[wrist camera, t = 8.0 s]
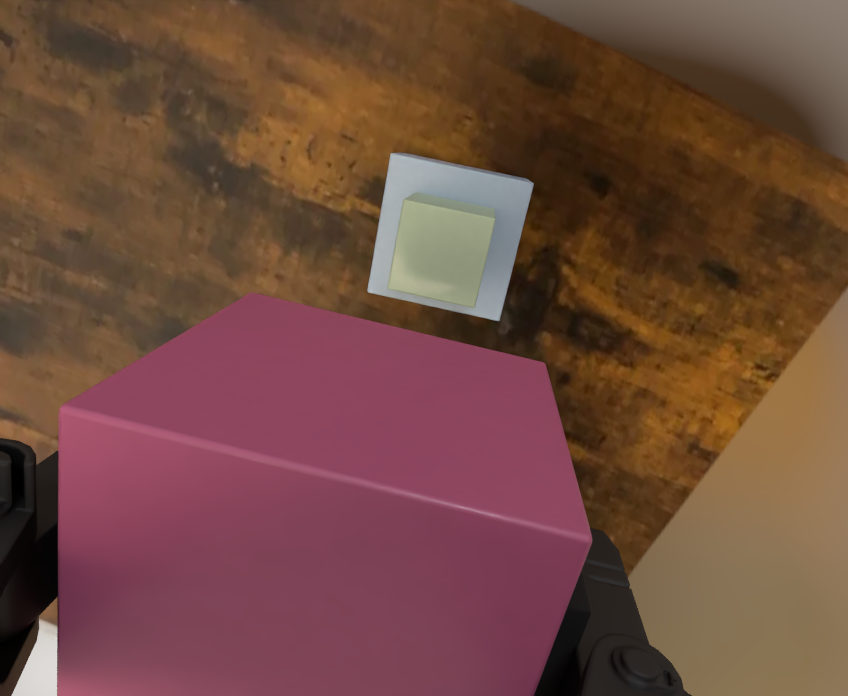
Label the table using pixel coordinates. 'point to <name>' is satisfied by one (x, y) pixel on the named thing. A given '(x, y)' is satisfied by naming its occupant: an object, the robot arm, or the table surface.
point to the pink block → (314, 515)
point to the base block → (462, 186)
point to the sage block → (441, 249)
